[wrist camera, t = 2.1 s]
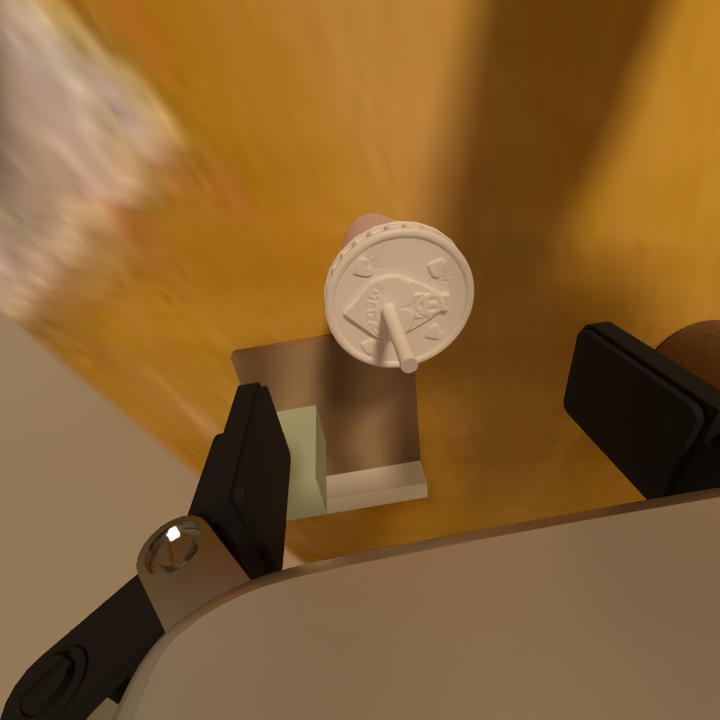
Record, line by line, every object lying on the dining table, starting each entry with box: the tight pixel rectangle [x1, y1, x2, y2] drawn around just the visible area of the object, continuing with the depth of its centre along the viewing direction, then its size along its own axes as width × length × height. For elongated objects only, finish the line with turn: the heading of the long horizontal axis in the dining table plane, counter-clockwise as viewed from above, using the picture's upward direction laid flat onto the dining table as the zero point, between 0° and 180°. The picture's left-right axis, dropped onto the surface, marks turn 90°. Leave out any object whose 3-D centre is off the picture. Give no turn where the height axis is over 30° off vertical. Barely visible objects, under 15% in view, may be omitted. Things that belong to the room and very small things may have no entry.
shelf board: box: [231, 334, 420, 476], centre depth 30 cm, size 13×16×1 cm
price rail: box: [326, 461, 428, 514], centre depth 33 cm, size 13×2×4 cm, turn 98°
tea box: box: [276, 405, 327, 521], centre depth 27 cm, size 5×4×7 cm
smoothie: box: [324, 214, 474, 373], centre depth 17 cm, size 6×6×14 cm
